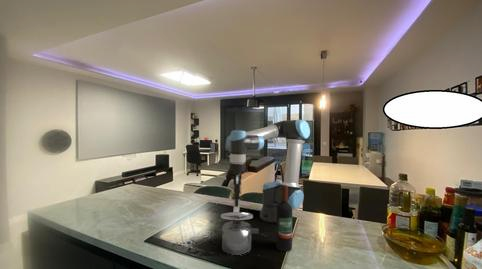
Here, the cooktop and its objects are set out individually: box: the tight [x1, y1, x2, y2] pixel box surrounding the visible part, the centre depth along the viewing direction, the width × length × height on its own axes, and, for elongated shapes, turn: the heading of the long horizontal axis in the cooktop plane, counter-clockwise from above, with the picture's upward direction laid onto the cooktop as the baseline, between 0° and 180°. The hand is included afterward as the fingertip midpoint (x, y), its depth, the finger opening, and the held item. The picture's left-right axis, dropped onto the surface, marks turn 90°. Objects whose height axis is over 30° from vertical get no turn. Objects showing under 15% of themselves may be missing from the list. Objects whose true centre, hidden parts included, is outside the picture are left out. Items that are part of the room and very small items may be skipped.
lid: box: [220, 211, 254, 221], centre depth 103 cm, size 16×16×2 cm
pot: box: [214, 220, 260, 256], centre depth 101 cm, size 14×21×10 cm, turn 91°
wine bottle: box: [275, 185, 293, 253], centre depth 102 cm, size 8×8×30 cm
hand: (236, 212), depth 100 cm, fingers closed
